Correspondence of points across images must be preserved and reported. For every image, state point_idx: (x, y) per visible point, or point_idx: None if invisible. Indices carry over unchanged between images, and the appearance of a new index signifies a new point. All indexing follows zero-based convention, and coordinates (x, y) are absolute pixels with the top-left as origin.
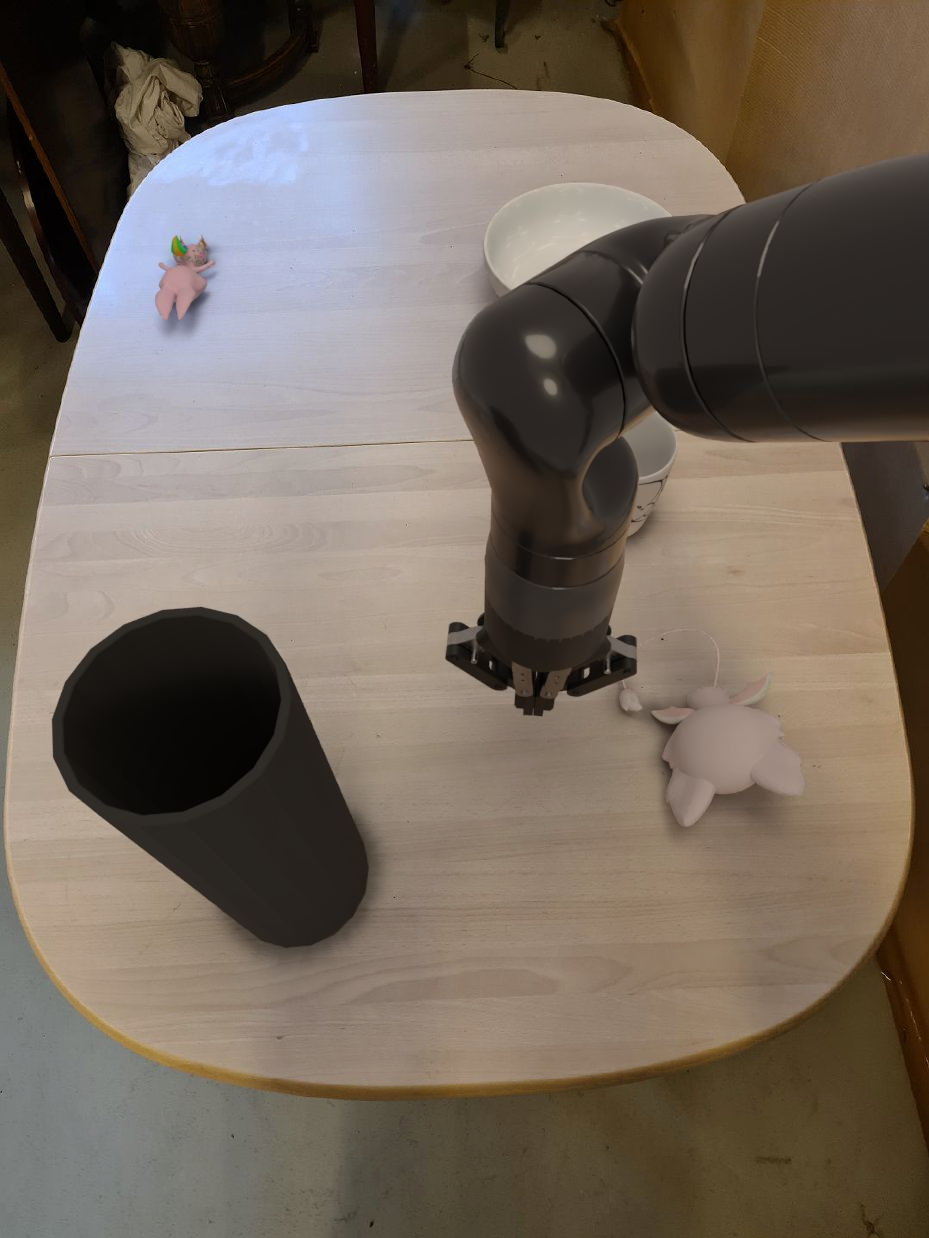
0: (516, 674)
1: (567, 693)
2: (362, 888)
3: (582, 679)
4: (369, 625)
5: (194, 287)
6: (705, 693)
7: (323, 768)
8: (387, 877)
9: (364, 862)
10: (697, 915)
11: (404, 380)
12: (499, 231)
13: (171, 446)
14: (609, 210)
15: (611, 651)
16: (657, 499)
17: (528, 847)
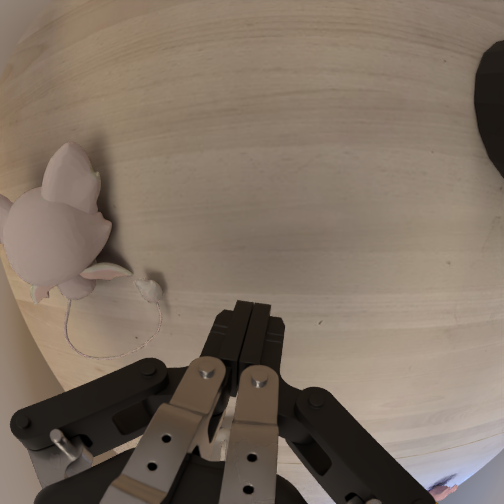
0: (264, 490)
1: (165, 371)
2: (489, 72)
3: (126, 407)
4: (423, 368)
5: (435, 495)
6: (72, 294)
7: None
8: (454, 85)
9: (498, 99)
10: (85, 58)
11: None
12: None
13: (484, 440)
14: None
15: (46, 479)
16: None
17: (272, 103)
